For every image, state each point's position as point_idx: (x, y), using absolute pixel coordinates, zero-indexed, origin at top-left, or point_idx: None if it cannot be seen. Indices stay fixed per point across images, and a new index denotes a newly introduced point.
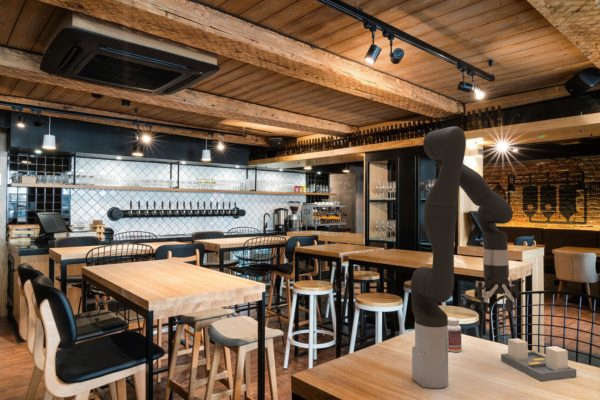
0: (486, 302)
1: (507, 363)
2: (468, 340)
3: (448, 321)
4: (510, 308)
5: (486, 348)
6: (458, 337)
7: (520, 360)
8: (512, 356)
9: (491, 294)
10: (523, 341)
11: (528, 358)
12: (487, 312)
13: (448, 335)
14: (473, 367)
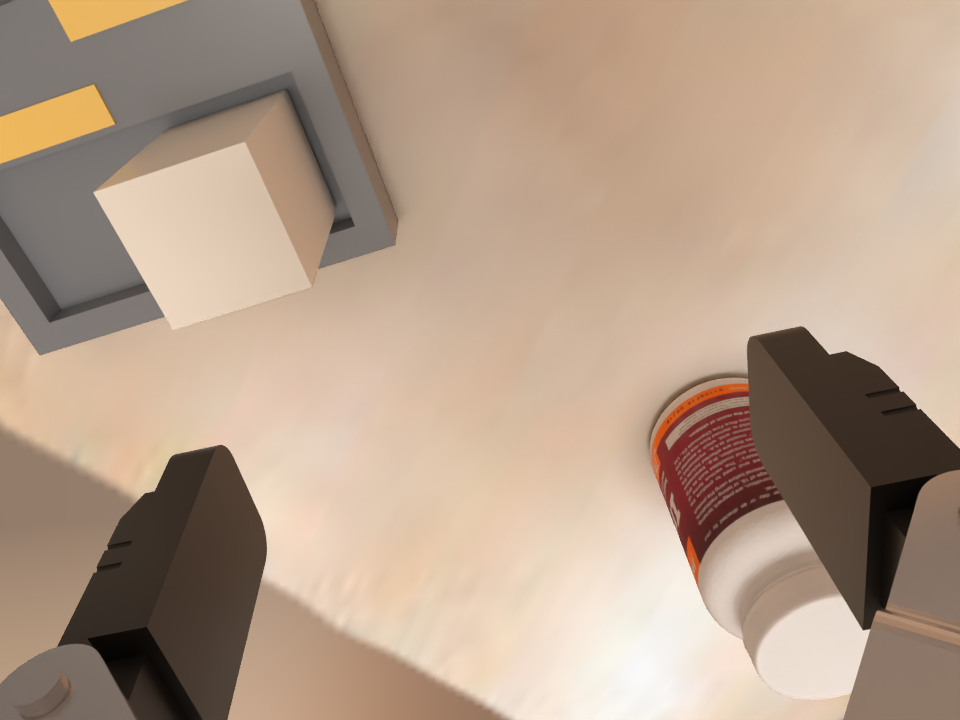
0: (903, 479)
1: (367, 142)
2: (494, 617)
3: None
4: (185, 492)
5: (415, 481)
6: (740, 459)
7: (254, 78)
8: (309, 162)
9: (906, 681)
10: (139, 219)
11: None
12: (761, 337)
13: None
14: (742, 28)
